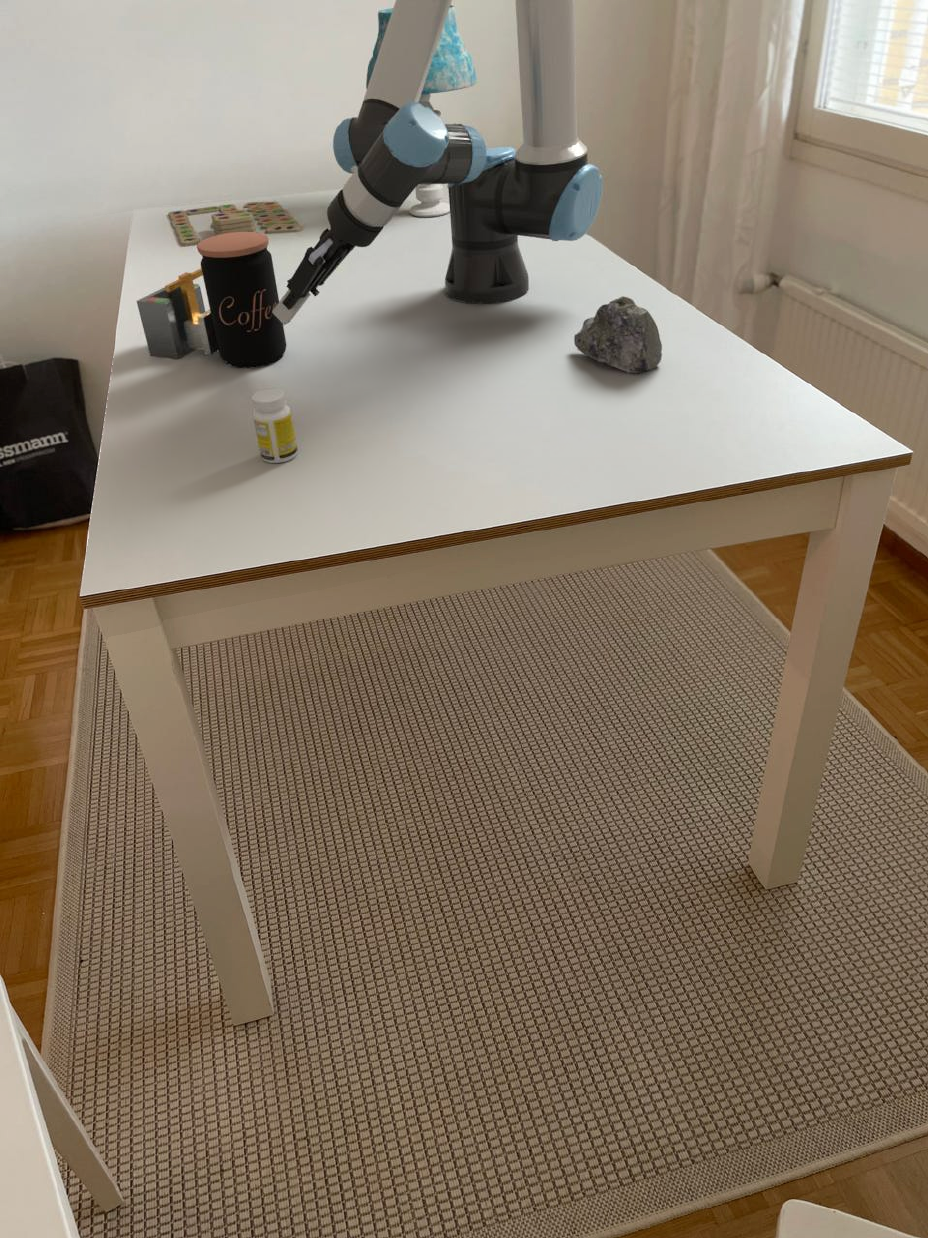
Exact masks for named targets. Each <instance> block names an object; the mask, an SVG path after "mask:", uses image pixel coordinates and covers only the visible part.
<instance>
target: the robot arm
mask: <svg viewBox="0 0 928 1238" xmlns="http://www.w3.org/2000/svg"><path fill="white" fill-rule="evenodd" d="M452 1H453V0H395V2H394V5H393V7H392V8H393V11H392V14H391V17H390V20H389V23H388V26H387V29H386V32H385V35H384V38H383V42H382V45H381V48H380V51H379V54H378V57H377V60H376V63H375V66H374V69H373V72H372V75H371V78H370V82H369V85H368V88H367V89H366V92H365V95H364V98H363V100H362V104H361V107H360V110H359V111H358V115H357V116H356V117H355V116H353V117H349V118H345V119H343V120H342V121H341V123H339V125H337V126H336V128H335V130H334V134H333V141H332V147H333V150H332V151H333V154H334V158H335V160H336V162H337V165H338V166H339V167H340V168H341V169H342V170H343V171H344V172H346V173H347V174H352V175H351V176H350V177H349V178H348V179H347V181H346V182H345V183H344V185H343V187H342V189H340V190H339V191H338V193H336V195H335V197H334V198H333V200H332V201H331V202H330V204H329V205H328V207H327V209H326V217H327V220H328V223H329V226H330V229H329V228H325V230H324V231H322V233H321V234H320V235H319V240H318V242H317V243H316V245H314V247H312V246H310V247H308V248H307V249H306V251H305V253H304V256H303V258H302V260H301V261H300V263H299V265H298V267H297V268H296V270H295V272H294V273H293V275H292V276H291V277H290V278H289V279H287V281H286V282H287V285H286V288H287V291H286V292H285V293H284V294H283V296H282V297H281V299H279V303H278V304H277V306H276V307H275V308H274V310H273V311H272V313H273V314H274V315H275V316H276V317H277V318H278V319H279V320H280V321H281V322H282V323H283V326H285V325H287V324H289V323H290V322H291V321H292V320H293V318H294V317H295V316H296V314H297V313H299V311H300V309H301V308H302V307H303V305H304V304H305V302H306V301H307V300H308V299H309V298H310V297H311V295H313V296H314V297H317V296H318V295H319V294H320V291H319V290H318V289H317V288H318V287H320V286H324V284H325V283H326V280H328V278H330V276H331V275H332V274H333V273H334V272H335V270H336V269H337V268H338V267H339V266H340V264H342V262H343V261H344V260H345V258H346V257H347V256H348V255H349V254H350V253H351V252H352V251H353V250H354V249H355V247H358V248H366V247H369V246H371V244H372V243H373V242H374V241H375V239H376V238H377V237H378V236H379V234H380V233H381V232H382V230H383V229H384V227H385V226H387V225H388V224H389V222H390V221H391V220H392V219H393V217H394V216H395V215H396V213H397V212H398V211H399V209H401V207H402V205H403V204H404V203H405V201H406V200H407V199H408V198H409V196H410V195H411V193H413V192H414V190H415V188H416V187H417V186H419V185H430V184H441V185H447V190H448V199H449V201H448V202H449V203H448V204H450V212H449V214H450V216H449V217H450V231H451V233H450V234H451V253H450V257H449V260H448V265H447V269H446V272H445V273H446V274H445V276H444V290H445V291H444V292H445V295H446V296H447V297H448V298H450V299H452V300H455V301H456V302H461V303H469V304H492V303H493V304H494V303H499V302H500V303H501V302H505V301H506V302H507V301H509V300H513V299H516V298H520V297H521V296H523V295H525V294H526V293H527V292H528V291H529V286H530V285H529V283H530V282H529V280H530V279H529V273H528V270H527V267H526V265H525V264H526V263H525V262H524V259H523V256H522V252H521V250H520V246H519V237H518V236H521V237H530V238H537V239H542V240H543V239H544V240H551V241H552V242H558V241H567V242H574V241H578V240H579V239H581V238H582V237H584V236H585V235H586V234H587V232H588V231H589V230H590V228H591V227H592V225H593V224H594V222H595V218H596V217H597V215H598V212H599V210H600V209H599V208H600V206H601V200H602V196H603V195H602V194H603V178H602V175H601V172H600V169H599V168H598V167H597V166H596V165H594V164H592V163H589V164H588V147H587V146H586V145H585V144H584V143H583V142H582V141H581V140H580V138H579V137H578V106H577V105H578V101H577V64H576V63H577V61H576V59H577V57H576V56H577V55H576V54H577V53H576V51H577V50H576V20H575V19H576V15H575V14H576V13H575V12H576V11H575V0H515V15H516V16H515V17H516V28H517V29H516V30H517V31H516V33H517V49H518V50H517V51H518V66H519V67H518V69H519V71H518V72H519V84H520V86H519V88H520V105H521V122H522V126H521V127H522V139H523V140H522V141H523V142H522V144H521V145H520V147H519V148H518V149H517V150H516V149H515V148H514V147H511V146H510V147H509V146H500V147H493V148H487V146H486V143H485V140H484V138H483V136H482V135H481V133H480V131H478V130H477V129H476V128H474V127H472V126H471V125H470V126H469V125H465V124H462V123H451V124H450V123H449V124H448V123H444V121H443V120H442V119H441V118H440V116H439V117H438V115H437V114H436V113H434V112H433V111H432V110H431V109H430V108H428V107H423V106H422V105H421V104H420V103H418V102H419V99H420V96H421V93H422V90H423V87H424V84H425V80H426V77H427V74H428V71H429V68H430V65H431V62H432V59H433V56H434V53H435V50H436V47H437V44H438V41H439V38H440V35H441V32H442V29H443V26H444V23H445V20H446V17H447V14H448V11H449V8H450V5H452Z"/></svg>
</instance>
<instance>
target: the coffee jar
mask: <svg viewBox="0 0 928 1238" xmlns="http://www.w3.org/2000/svg"><path fill="white" fill-rule="evenodd" d="M269 242H270V241H269V236H267V234H266V233H265V234H264V233H262V232H257V231H256V232H233V233H226V234H220V235H216V234H215V235H213V236H209V237H208V238H205V239H202V240H200V242H199V243H198V245H196V249H197V252H198V254H200V256H201V257H202V259H201V260H200V269H202V274H203V275H202V279H203V281H204V282H203V283H204V287H205V293H206V296H207V302H208V306H209V310H210V312H211V316H212V321H213V326H214V331H215V335H216V340H217V345H218V353H219V357H221V359H222V360H223V361H224V362H225V363H226V365H229V366H230V367H233V368H239V369H241V368H242V369H253V368H260V367H265V366H268V365H271V364H273V363H276V362H277V361H279V360H281V359H282V358H283V357H284V354H285V352H286V349H287V340H286V334H285V329H284V324H283V323H282V322H281V321H280V320H279V319H278V318H277V317H276V316H275V315H274V314H273V313H272V311H273V310H274V308H275V307H276V306H277V304H278V303H279V302H280V297H279V292H278V286H277V280H276V274H275V269H274V263H273V262H274V261H273V256H272V253H271V252H270V251H269V250H268V247H269Z"/></svg>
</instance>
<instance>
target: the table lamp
mask: <svg viewBox="0 0 928 1238" xmlns="http://www.w3.org/2000/svg"><path fill="white" fill-rule="evenodd" d="M393 8H394V7H391V8H384V9H380V10H378V12H377V22H378V33H377V38H376V42H375V45H374V48H373V51H372V57H371V58H370V60H369V62H368V66H367V73H366V82H365V89H366V90H367V88H368V85H369V82H370V78H371V75H372V72H373V69H374V66H375V63H376V60H377V57H378V54H379V51H380V48H381V45H382V42H383V38H384V35H385V32H386V29H387V26H388V23H389V20H390V17H391V14H392V11H393ZM476 72H477V71H476V69H475V65H474V61H473V59H472V56H471V53H469V51H468V50H467V49H466V44H465V43H464V40H463V38H462V36H461V35H460V32H459V29H458V27H457V21H456V9H455V7H454V5H452V4H451V5H450V8H449V11H448V14H447V17H446V20H445V23H444V26H443V29H442V32H441V35H440V38H439V41H438V44H437V47H436V50H435V53H434V56H433V59H432V62H431V65H430V68H429V71H428V74H427V77H426V80H425V84H424V87H423V90H422V93H421V96H420V99H419V102H418V103H420V104H421V105H422V106H423V107H428V108H430V109H431V110H432V111H433V112H434V113H436V114H437V115H438V117H439V118H440V117H441V115H442V112H441V111H440V110H438V109H434V107H433V105H432V104H431V101H430V98H431V94H441V93H448V92H453V91H458V90H463V89H467V88H469V87H473V86H474V85H476V83H478V78H477V74H476ZM414 190H415V198H416V200H417V201H419V202H420V203H417V204H415V205H412V206H411V207H410V208H409V213H410V214H411V215H413V216H414V217H419V218H433V217H435V218H436V217H439V216H444V215H447V214H450V204H449V203H448V202H444V201H443V202H442V201H441V200H442V199H443V198H444V186H443V184H430V185H418V186H417V187H416V188H415V189H414Z"/></svg>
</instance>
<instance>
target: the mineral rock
mask: <svg viewBox="0 0 928 1238" xmlns="http://www.w3.org/2000/svg"><path fill="white" fill-rule="evenodd" d="M659 332H660V331H659V328H658V326H657V324H656V321H655V319H654V318H653V317H652V314H651V313H650V312H649V310H648V309H646V308H644V307H641V306H638V305H637V304H636V302H635V301H634V299H633V298H630V297H627V296H624V295H623V296H621V297H618V298H616V299H613V300H611V301H609V302H608V303H607V304H606V303H605V304H602V305H601V306H600V307H599V308H598V309H597V310H596V313H595V316H591V317H588V318H587V319H585V320H584V321H583V323H582V328H581V329H580V330H579V331H578V332H577V333H576V334H574V337H573V339H574V341H573V342H574V343H573V344H574V346H575V347H576V348H577V350H578V351H580V352H581V353H582V354H584V355H585V356H587V357H588V358H591V359H593V360H595V361H597V362H599V363H604V364H605V363H606V365H608V366H610V367H613V368H617V369H618V370H621V371H624V372H625V373H634V375H637V374H641V373H642V372H643V371H652V370H654V369H655V368H656V367H658V365H659V364H660V363H661V360H662V356H663V353H662V350H663V344H662V341H661V336H660V333H659Z"/></svg>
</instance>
